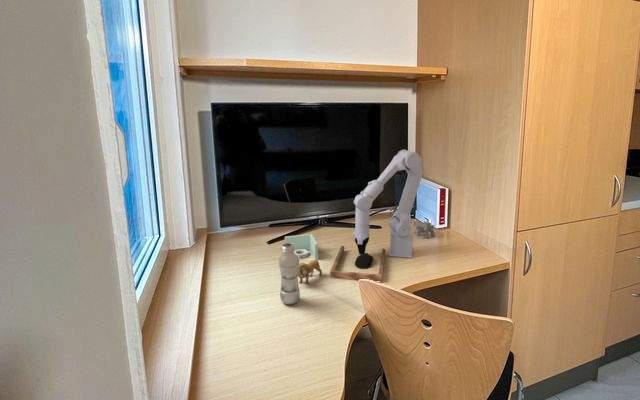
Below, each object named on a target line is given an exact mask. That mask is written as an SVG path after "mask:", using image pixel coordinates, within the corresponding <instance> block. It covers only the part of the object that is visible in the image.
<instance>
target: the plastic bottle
mask: <svg viewBox="0 0 640 400" xmlns="http://www.w3.org/2000/svg"><path fill="white" fill-rule="evenodd" d="M281 247H282V249H281V252H282V253H281V255H280V257H279V258H278V267H279V270H280V280H281V281H280V282H281V283H280V291H279V297H280V301H281V302H282V304H285V305H295V304H297V303H298V302H299V300H300V298H301V292H300V288H299V287H300V286H299V280H298V279H299V277H298V266H299V264H300V259H298V257H297V255H296V254H295V253H294V245H293V244H291V243H286V244H285V243H283V244H282V246H281Z"/></svg>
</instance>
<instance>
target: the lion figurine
mask: <svg viewBox="0 0 640 400" xmlns="http://www.w3.org/2000/svg"><path fill="white" fill-rule="evenodd" d="M314 270H316V272H319V274H318V276H320V277H322V276H323V270H322V269H321V266H320V262H319V260H315V259H314V260H310V261H309V262H308V263H304V262H299V266H298V279H299V280H298V284H303V282H304V279H305V285H307V286H309V284H310V281H309V278H310V277H312V276H313V274H314V272H315V271H314Z"/></svg>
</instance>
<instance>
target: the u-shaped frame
mask: <svg viewBox="0 0 640 400" xmlns="http://www.w3.org/2000/svg"><path fill="white" fill-rule="evenodd" d="M344 253H345V246H344V245H341V246H340V248H339V251H338V252H337V256H336V257H335V259H334V262H333V265H332V266H331V269H330V271H329V278H330V279H339V280H352V281H359V279H369V280H373V281H380V282H379V283H381V282H382V280H383V275H384V266H385V261H386V260H385V258H386V248H382V251H381V256H380V264H379V269H378V274H377V273H367V272H365V273H364V272H356V271H355V272H353V271H344V270H338V267H339V265H340V262H341V261H342V258H343V256H344Z"/></svg>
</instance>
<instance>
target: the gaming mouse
mask: <svg viewBox="0 0 640 400" xmlns="http://www.w3.org/2000/svg"><path fill="white" fill-rule="evenodd" d="M373 262H374V257H373V255H371V254H370V253H368V252H365V253H364V254H362V255H360V254H358V256H357V257H356V259H355V261H354V266H355V267H357V268H358V269H367V268H368V269H369V268H371V266H372V264H373Z"/></svg>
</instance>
